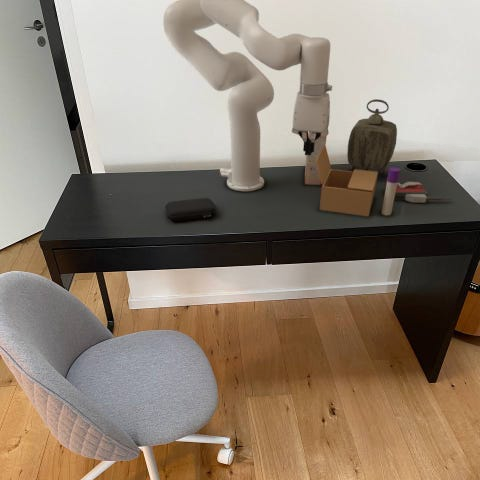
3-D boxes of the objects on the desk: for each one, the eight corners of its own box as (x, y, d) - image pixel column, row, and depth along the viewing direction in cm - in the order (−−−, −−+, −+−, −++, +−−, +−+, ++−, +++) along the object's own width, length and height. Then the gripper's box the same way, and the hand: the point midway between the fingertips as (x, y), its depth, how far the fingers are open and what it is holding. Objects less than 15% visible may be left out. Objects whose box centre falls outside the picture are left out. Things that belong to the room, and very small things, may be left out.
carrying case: (169, 225, 145) (218, 219, 148) (168, 216, 143) (218, 210, 146) (164, 209, 153) (211, 204, 156) (163, 200, 151) (211, 195, 154)
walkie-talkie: (386, 203, 155) (450, 204, 155) (388, 190, 153) (454, 191, 152) (381, 191, 162) (442, 192, 161) (383, 178, 159) (446, 179, 159)
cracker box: (322, 186, 166) (328, 122, 152) (304, 185, 166) (309, 121, 153) (322, 169, 176) (328, 108, 163) (305, 168, 177) (310, 107, 164)
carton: (319, 210, 152) (322, 183, 146) (327, 192, 162) (330, 166, 157) (368, 217, 148) (373, 190, 143) (373, 198, 158) (378, 171, 153)
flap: (322, 184, 147) (321, 184, 147) (330, 166, 157) (329, 166, 157) (316, 160, 143) (315, 160, 143) (325, 144, 153) (324, 144, 153)
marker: (380, 215, 149) (388, 170, 140) (381, 211, 152) (389, 166, 143) (390, 216, 149) (399, 171, 140) (391, 212, 151) (400, 167, 142)
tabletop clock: (390, 174, 173) (404, 98, 157) (384, 184, 166) (399, 106, 150) (349, 167, 177) (359, 93, 162) (342, 177, 171) (352, 101, 155)
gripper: (342, 87, 139) (335, 152, 150) (290, 83, 142) (287, 147, 154) (337, 94, 133) (330, 161, 145) (283, 90, 137) (281, 156, 148)
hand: (308, 153), depth 149 cm, fingers closed
